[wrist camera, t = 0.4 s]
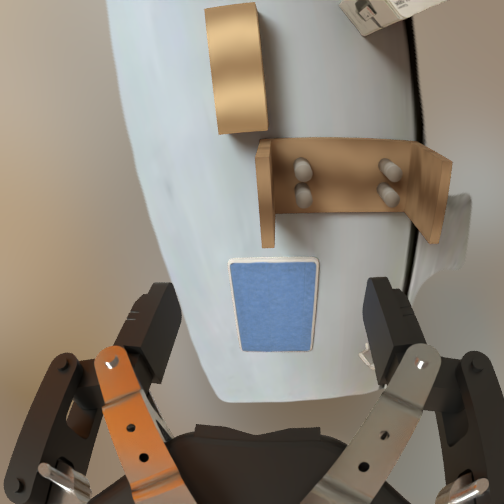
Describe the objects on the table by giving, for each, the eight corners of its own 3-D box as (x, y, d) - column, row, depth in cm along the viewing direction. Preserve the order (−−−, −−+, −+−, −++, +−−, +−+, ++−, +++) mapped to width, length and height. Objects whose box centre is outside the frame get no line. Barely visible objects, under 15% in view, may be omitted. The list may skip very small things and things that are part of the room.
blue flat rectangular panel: (311, 347, 51) (312, 353, 50) (240, 347, 52) (239, 353, 51) (318, 254, 41) (319, 259, 40) (227, 255, 42) (225, 260, 41)
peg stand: (260, 139, 33) (254, 157, 25) (416, 141, 31) (452, 161, 23) (265, 210, 37) (261, 248, 30) (409, 208, 35) (438, 243, 28)
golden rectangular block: (212, 16, 26) (204, 8, 22) (257, 11, 25) (254, 2, 22) (225, 129, 33) (218, 134, 29) (268, 125, 32) (267, 130, 29)
